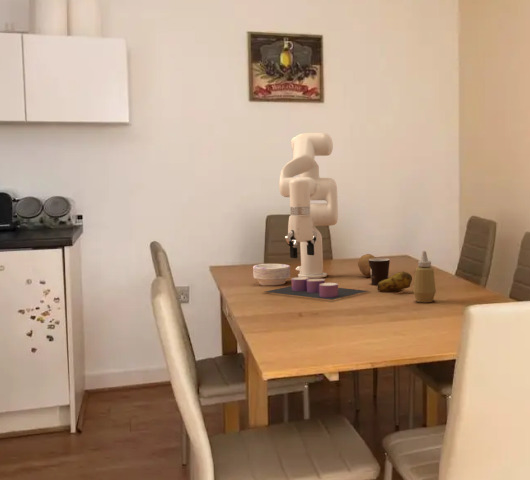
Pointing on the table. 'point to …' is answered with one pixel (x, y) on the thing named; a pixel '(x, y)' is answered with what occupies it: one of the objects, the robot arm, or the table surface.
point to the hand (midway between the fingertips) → (302, 256)
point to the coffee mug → (379, 269)
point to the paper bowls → (271, 273)
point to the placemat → (289, 291)
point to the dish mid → (314, 285)
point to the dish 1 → (299, 283)
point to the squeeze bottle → (424, 281)
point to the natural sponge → (365, 264)
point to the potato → (395, 282)
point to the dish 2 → (328, 290)
